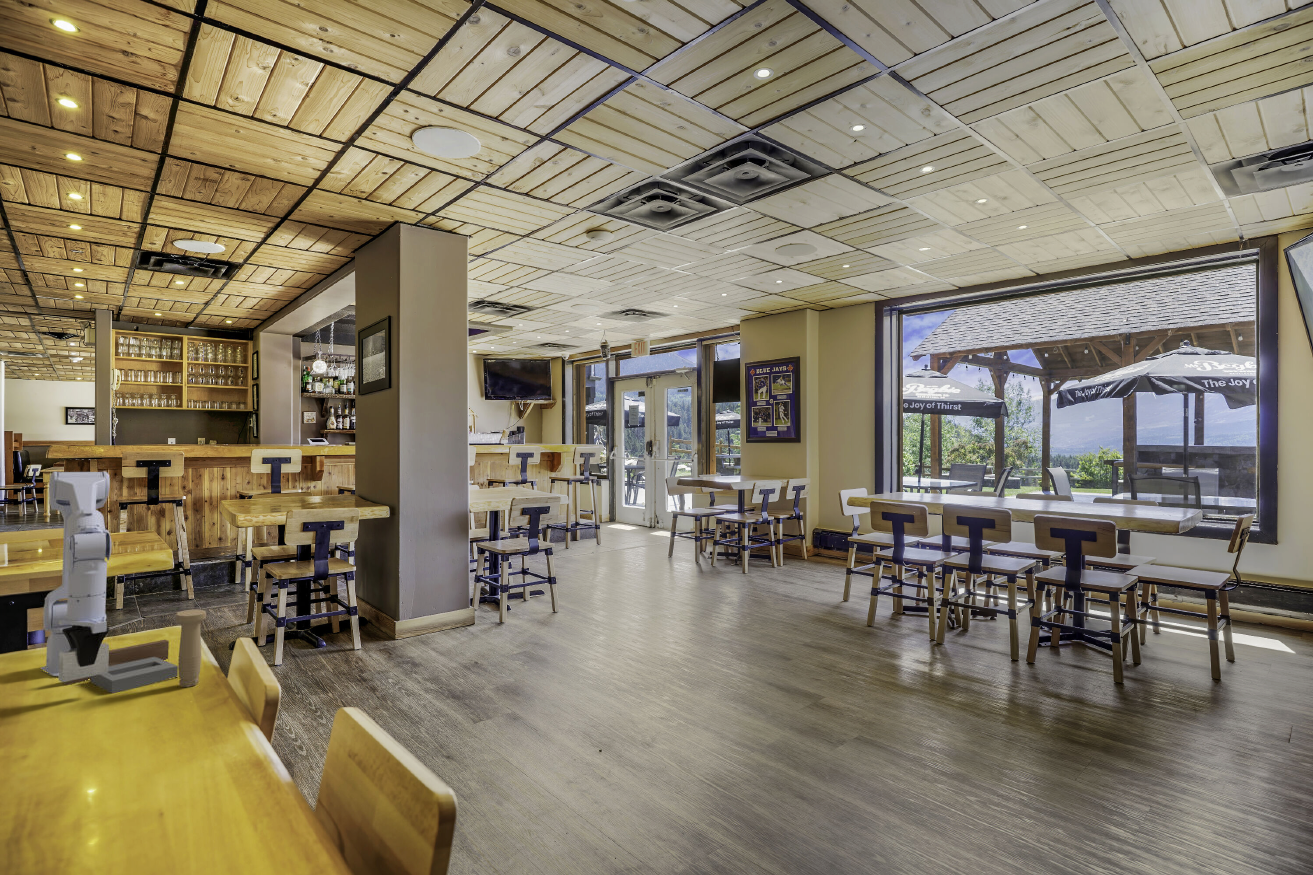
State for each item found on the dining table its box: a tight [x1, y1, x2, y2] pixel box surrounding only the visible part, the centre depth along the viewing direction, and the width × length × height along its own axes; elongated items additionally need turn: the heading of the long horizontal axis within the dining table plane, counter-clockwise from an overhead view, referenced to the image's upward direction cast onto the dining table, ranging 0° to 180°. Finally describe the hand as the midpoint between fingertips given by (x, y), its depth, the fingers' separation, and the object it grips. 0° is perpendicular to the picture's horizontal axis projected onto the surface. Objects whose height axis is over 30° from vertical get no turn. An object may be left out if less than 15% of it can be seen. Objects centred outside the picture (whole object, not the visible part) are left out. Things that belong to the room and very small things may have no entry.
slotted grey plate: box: [89, 657, 179, 694], centre depth 140 cm, size 12×11×2 cm
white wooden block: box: [58, 642, 110, 683], centre depth 129 cm, size 2×7×6 cm, turn 147°
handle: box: [175, 609, 207, 688], centre depth 137 cm, size 5×6×15 cm
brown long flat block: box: [63, 639, 170, 686], centre depth 144 cm, size 2×18×5 cm, turn 147°
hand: (84, 663), depth 129 cm, fingers closed on white wooden block, 2 cm apart
